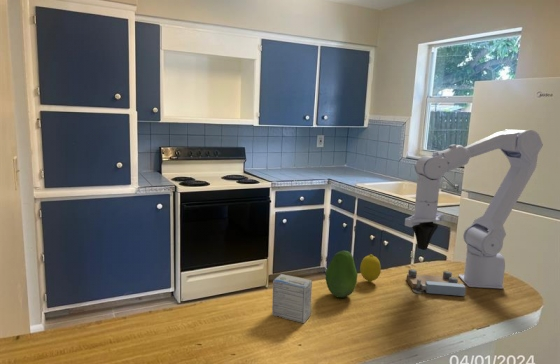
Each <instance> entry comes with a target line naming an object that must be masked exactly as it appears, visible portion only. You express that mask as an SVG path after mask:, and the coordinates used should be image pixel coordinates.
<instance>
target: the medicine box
mask: <svg viewBox="0 0 560 364" xmlns="http://www.w3.org/2000/svg"><path fill="white" fill-rule="evenodd" d="M312 285H313V280H311V279H308V278H304V277H303V278H302V277H299V276H295V275H293V276H292V275H288V274H284V273H283V274H282V273H280V274H279V275H278V276H277V277H276V278H274V279H273V281H272V305H271V306H272V308H271V315H272V316H273V315H275V316H274V317H277V316H279V317H278V318H281V317H282V318H281V319H286V320H289V321H294V322H298V323H302V324H305V323H306V321H307V320H308V319H309V318H310V316H311V315H312V313H311V311H312V289H313V288H312V287H313V286H312Z"/></svg>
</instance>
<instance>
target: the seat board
mask: <svg viewBox="0 0 560 364" xmlns="http://www.w3.org/2000/svg"><path fill="white" fill-rule="evenodd" d="M407 273H408V274H406V281H407V283H408V284H409V286H410V287H411V289H412V290H413V289H414V288H416V285H417V280H418V279H419V280H421V284H425V283H426V281H432V282H445V283H458V278H457V277H453V276H452V275H453V274H452V272H451V271H447V270H444V271H442V275H425V274H418V271H417V270H416V269H414V268H413V269H411V268H409V269H408V272H407ZM420 289H421V290H422V288H421V286H420Z"/></svg>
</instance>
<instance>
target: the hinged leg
mask: <svg viewBox="0 0 560 364" xmlns="http://www.w3.org/2000/svg"><path fill="white" fill-rule="evenodd" d="M421 288H422V290H423V291H424V290H425V292H426V294H433V295H446V296H447V295H448V296H460V297H466V285H464V284H463V283H458V282H457V283H445V282H432V281H426V283H425V284H421Z"/></svg>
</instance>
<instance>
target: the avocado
mask: <svg viewBox="0 0 560 364" xmlns="http://www.w3.org/2000/svg"><path fill="white" fill-rule="evenodd" d="M325 282H326V286H327V288H328V291H329V293H330V294H332V295H333V296H334V297H336V298H340V299H341V298H342V299H343V298H347V297H348V296H350V295H352V294H353V292H354V291H355V288H356V285H357V282H358V272H357V268H356V263H355V260H354V257H353V255H352V253H351V252H350V251H348V250H341V251H338V252H336V253H335V254H334V256H333V257H332V258H331V260H330V262H329V264H328V267H327V268H326V270H325Z"/></svg>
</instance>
